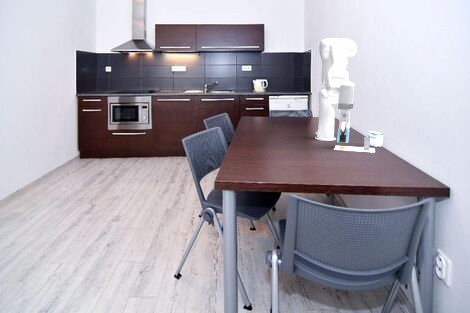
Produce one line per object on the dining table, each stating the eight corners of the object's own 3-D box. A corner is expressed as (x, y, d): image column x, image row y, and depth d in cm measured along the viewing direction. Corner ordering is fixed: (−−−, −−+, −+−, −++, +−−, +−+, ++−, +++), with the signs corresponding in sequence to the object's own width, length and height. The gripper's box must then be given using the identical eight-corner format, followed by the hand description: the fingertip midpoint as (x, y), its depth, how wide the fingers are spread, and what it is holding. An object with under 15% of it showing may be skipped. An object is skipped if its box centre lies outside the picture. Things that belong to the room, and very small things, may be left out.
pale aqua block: (337, 142, 199) (338, 129, 197) (337, 140, 204) (338, 128, 202) (347, 142, 197) (348, 130, 196) (348, 141, 202) (349, 128, 200)
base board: (333, 152, 197) (333, 149, 196) (335, 148, 208) (335, 145, 207) (374, 155, 190) (374, 152, 190) (374, 150, 201) (374, 148, 201)
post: (363, 149, 196) (364, 136, 194) (363, 148, 198) (364, 136, 197) (369, 150, 195) (370, 137, 193) (369, 149, 198) (370, 136, 196)
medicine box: (365, 146, 213) (367, 131, 211) (372, 146, 214) (373, 131, 213) (375, 149, 206) (377, 133, 204) (382, 148, 207) (383, 133, 205)
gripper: (352, 108, 187) (349, 144, 191) (353, 105, 203) (350, 138, 207) (336, 108, 189) (334, 143, 194) (339, 104, 205) (336, 137, 209)
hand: (342, 140), depth 200 cm, fingers closed on pale aqua block, 5 cm apart
